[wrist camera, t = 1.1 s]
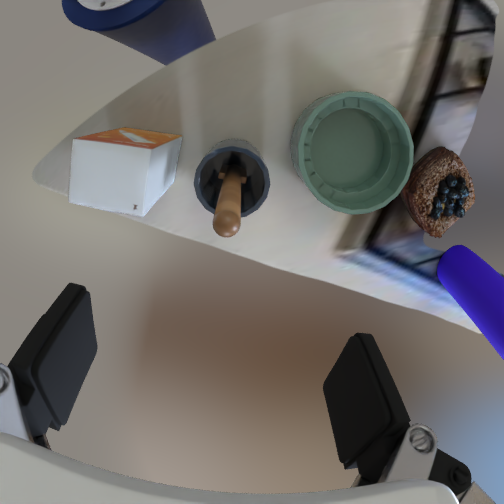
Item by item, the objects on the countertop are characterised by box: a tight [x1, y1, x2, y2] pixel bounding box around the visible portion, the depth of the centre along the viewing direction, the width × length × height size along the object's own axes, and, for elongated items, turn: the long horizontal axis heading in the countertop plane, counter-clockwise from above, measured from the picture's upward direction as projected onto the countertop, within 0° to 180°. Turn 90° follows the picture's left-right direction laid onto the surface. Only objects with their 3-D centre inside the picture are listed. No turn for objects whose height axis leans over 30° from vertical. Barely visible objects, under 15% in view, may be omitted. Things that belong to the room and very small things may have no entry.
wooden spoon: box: [213, 164, 247, 237], centre depth 27 cm, size 2×3×19 cm, turn 77°
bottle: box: [437, 245, 504, 360], centre depth 30 cm, size 8×8×30 cm
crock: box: [194, 139, 270, 217], centre depth 32 cm, size 7×7×8 cm
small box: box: [68, 127, 183, 217], centre depth 28 cm, size 8×6×13 cm
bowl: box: [291, 91, 414, 214], centre depth 32 cm, size 14×14×6 cm
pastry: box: [400, 147, 475, 238], centre depth 35 cm, size 11×12×6 cm
